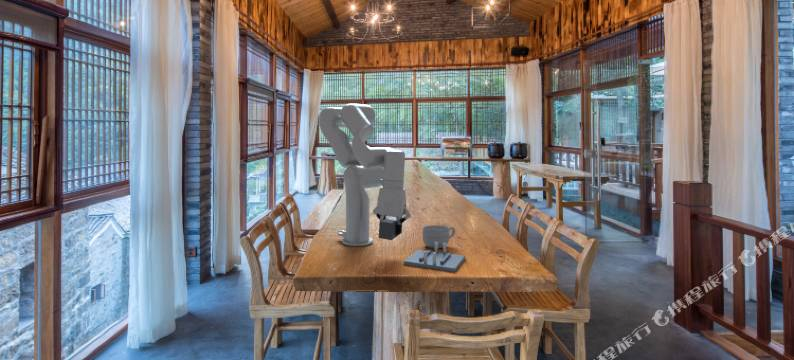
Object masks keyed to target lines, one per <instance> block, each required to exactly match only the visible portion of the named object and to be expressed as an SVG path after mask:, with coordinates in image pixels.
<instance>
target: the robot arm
mask: <svg viewBox="0 0 794 360" xmlns="http://www.w3.org/2000/svg"><path fill="white" fill-rule="evenodd" d="M318 116H319V117H318V124H319V128H320V132H321V133H322V135H323V137H324V138H325V140H326V141H327V142H328V143H329V145H330V147H331V149H332V151H333V153H334V156H335V157H336V159H337V162H338V163H339V165H340V166H341V167H343V168H345V170H344V171H343V175H342V178H343V186H344V191H345V230H341V229H339V230H338V231H337V236H338V237H342V239H341V242H342V244H343V245H345V246H350V247H365V246H369V245H372V244H373V243H374V239H373V238H372V237H370V197H369V195H368V193H367V192H366V189H371V188H379V192H378V196H377V201H376V202H377V203H376V206H375V208H374V209H372V213H373V214H374V215H375V216H376V217H377V219H378V220H379V222H380V221H382V220H384V219H385V218H387V217H389V216H391V217H396V219H397V225H396V235H398V236H400V235H401V234H402V233H401V229H402V230H403V223H405V221H407V220H408V219H410V218H411V217H412V215H411V213H410V211H409V210H408V209H407V193H406V189H405V188H404V183H405V182H404V181H405V164H406V163H405V162H406V160H405V159H406V153H405V151H403V150H402V149H401V150H400V149H394V148H392V147H388V146H387V147H386V146H383V147H380V146H375V147H374V146H373V147H370V146H369V145H367V144H366V141H368V140H369V139H370V138H372V136H373V135H374V131H375V129H374V125H373V124H374V122H375V120H376V111H375V110H374V108H373V107H372V106H371V105H370V104H362V103H361V104H360V103H347V104H345V105H343V106H342V107H341V106H340V107H339V106H330V107H325V108H323V109H322V110H321V111H320V112H319V115H318ZM341 128H346V129H348V130H349V132H350V134H351V136H353V138H352V140H351V139H350V136H349V135H348V134H347V133H346V132H345V131H344V130H342V129H341ZM404 215H405V216H404ZM400 233H401V234H400ZM399 234H400V235H399Z"/></svg>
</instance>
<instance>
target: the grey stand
mask: <svg viewBox="0 0 794 360" xmlns="http://www.w3.org/2000/svg"><path fill="white" fill-rule="evenodd" d="M465 260H466V255H464V254H463V255H462V254H456V253H454V254H453V253H451V252H447V245H446V243H443V248H442V252H440V251H439V248H438V242H435V248H434V251H433V250H429V249H427V250H426V249H417V250H416V251H415V252H413V253H412V254H411V255H409V256H408V257H406V259H405V260H404V261H403V265H404V264H407V265H406V266H411V265H413V267H418V266H420V267H419V268H425V267H427V268H426V269H431V268H433V270H438V269H440V271H445V270H446V271H445V272H454V273H455V272H456V271H457V270H458V269H459V268H460V266H461V265H462V263H463V262H464V261H465Z"/></svg>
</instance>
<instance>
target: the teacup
mask: <svg viewBox="0 0 794 360" xmlns="http://www.w3.org/2000/svg"><path fill="white" fill-rule="evenodd" d="M451 230H452V232H451V233H450V231H451ZM455 234H456V229H455V228H454V227H453V226H447V225H438V224H436V225H435V224H433V225H431V224H430V225H425V226H422V242H423V244H424V245H425V246H427V248H430V249H435V242H438V249H443V243H446V246H447V245H448V244H449V240H450V239H452V237H454V235H455Z"/></svg>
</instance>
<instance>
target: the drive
mask: <svg viewBox="0 0 794 360" xmlns="http://www.w3.org/2000/svg"><path fill="white" fill-rule="evenodd" d="M378 225H379V226H378V239H383V240H388V241H392V240H394V239H395V238H397V237H398V236H400V235H401V234H402V233H403V228H402V229H401V233H400V234H399V235H396V225H397V219H396V217H391V216H386V218H385V219H384V220H382V221H379V223H378Z"/></svg>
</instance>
